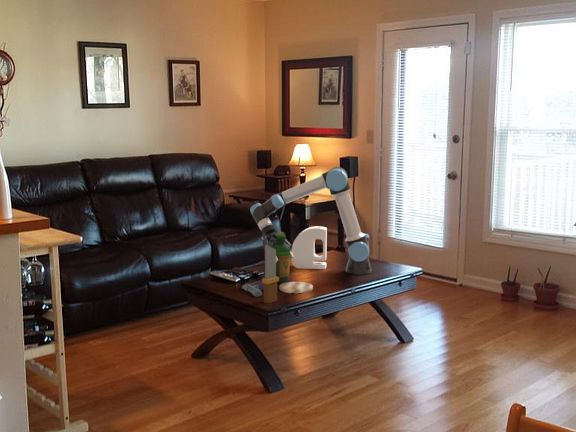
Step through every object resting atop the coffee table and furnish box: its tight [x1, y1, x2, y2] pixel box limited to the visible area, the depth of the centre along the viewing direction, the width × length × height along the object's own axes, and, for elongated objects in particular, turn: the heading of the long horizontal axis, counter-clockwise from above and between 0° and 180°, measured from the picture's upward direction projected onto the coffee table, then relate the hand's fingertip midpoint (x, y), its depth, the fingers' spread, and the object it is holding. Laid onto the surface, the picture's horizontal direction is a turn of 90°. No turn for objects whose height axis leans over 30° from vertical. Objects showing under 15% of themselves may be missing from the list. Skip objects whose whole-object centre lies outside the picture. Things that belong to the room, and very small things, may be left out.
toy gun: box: [241, 280, 264, 298], centre depth 350 cm, size 4×19×15 cm
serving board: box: [279, 281, 314, 295], centre depth 355 cm, size 18×18×2 cm
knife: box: [261, 244, 279, 304], centre depth 331 cm, size 8×4×30 cm, turn 136°
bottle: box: [272, 231, 292, 284], centre depth 368 cm, size 11×11×28 cm
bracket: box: [291, 225, 328, 270], centre depth 400 cm, size 7×21×25 cm, turn 82°
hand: (284, 259), depth 366 cm, fingers closed on bottle, 10 cm apart
